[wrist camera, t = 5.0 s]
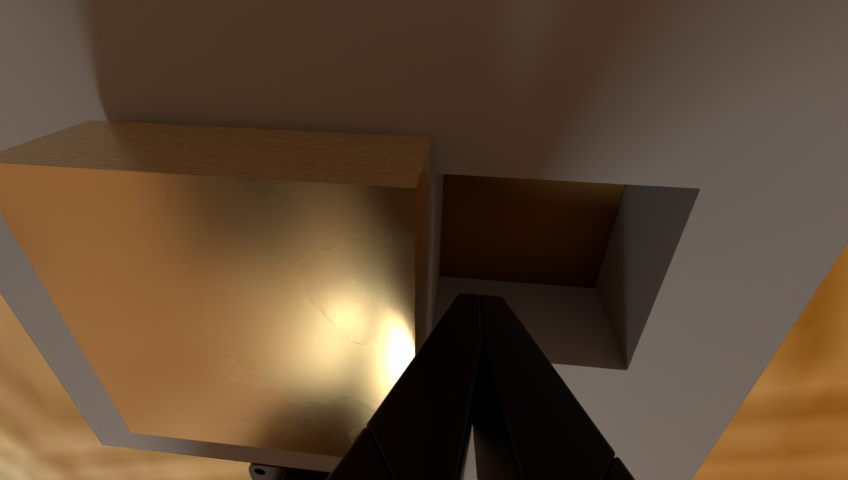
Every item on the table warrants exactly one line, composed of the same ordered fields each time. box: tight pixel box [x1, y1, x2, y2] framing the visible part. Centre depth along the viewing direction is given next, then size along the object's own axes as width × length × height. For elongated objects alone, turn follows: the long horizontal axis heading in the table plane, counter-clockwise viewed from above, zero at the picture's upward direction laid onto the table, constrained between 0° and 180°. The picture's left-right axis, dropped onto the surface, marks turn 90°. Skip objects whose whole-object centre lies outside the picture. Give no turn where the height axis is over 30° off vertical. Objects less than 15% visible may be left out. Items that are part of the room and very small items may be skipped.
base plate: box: [0, 0, 848, 480], centre depth 10 cm, size 14×18×3 cm
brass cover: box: [0, 120, 431, 457], centre depth 8 cm, size 6×6×2 cm
